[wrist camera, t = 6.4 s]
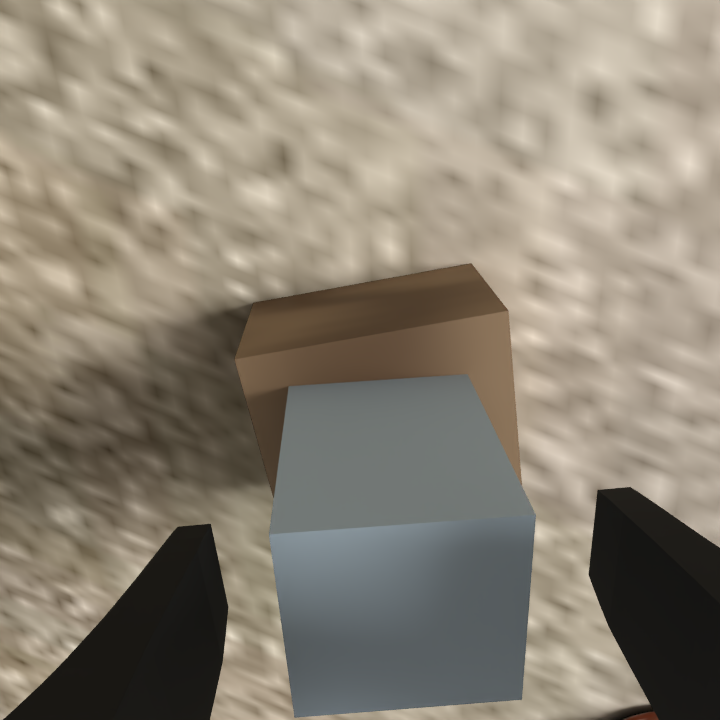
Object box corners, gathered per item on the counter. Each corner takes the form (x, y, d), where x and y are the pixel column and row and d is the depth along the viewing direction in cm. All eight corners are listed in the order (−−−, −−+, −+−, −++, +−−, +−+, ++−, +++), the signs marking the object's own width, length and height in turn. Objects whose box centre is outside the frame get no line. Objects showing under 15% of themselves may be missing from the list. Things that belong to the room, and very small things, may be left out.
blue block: (304, 530, 15) (294, 717, 11) (288, 386, 14) (269, 534, 9) (464, 519, 16) (521, 699, 11) (467, 373, 14) (535, 515, 9)
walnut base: (300, 477, 20) (293, 568, 16) (254, 300, 17) (234, 359, 13) (488, 445, 19) (525, 529, 16) (469, 261, 17) (508, 311, 13)
